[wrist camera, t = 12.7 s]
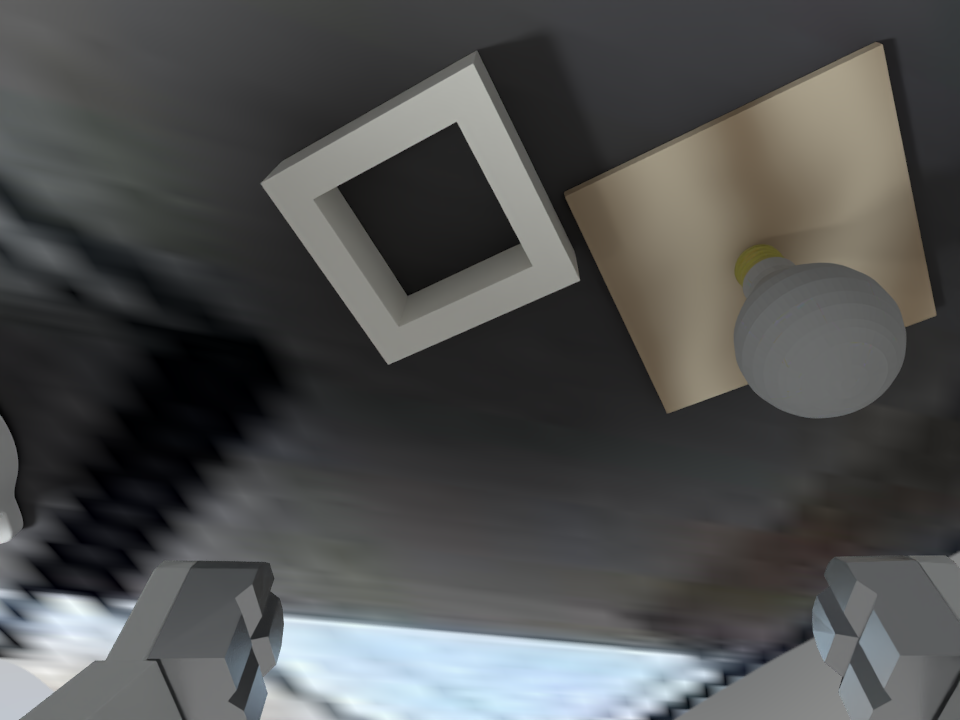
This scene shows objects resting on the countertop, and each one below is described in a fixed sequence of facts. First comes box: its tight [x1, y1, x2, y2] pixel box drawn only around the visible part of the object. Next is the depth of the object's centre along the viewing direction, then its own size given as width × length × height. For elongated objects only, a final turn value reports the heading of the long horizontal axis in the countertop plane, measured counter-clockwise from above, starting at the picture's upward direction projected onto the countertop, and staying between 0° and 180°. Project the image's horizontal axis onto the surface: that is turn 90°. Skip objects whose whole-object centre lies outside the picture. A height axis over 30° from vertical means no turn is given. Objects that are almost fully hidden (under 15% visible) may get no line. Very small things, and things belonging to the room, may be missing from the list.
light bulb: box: [734, 244, 906, 418], centre depth 26 cm, size 6×6×10 cm
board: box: [564, 42, 937, 414], centre depth 31 cm, size 13×13×1 cm
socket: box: [260, 50, 580, 365], centre depth 29 cm, size 10×10×3 cm
